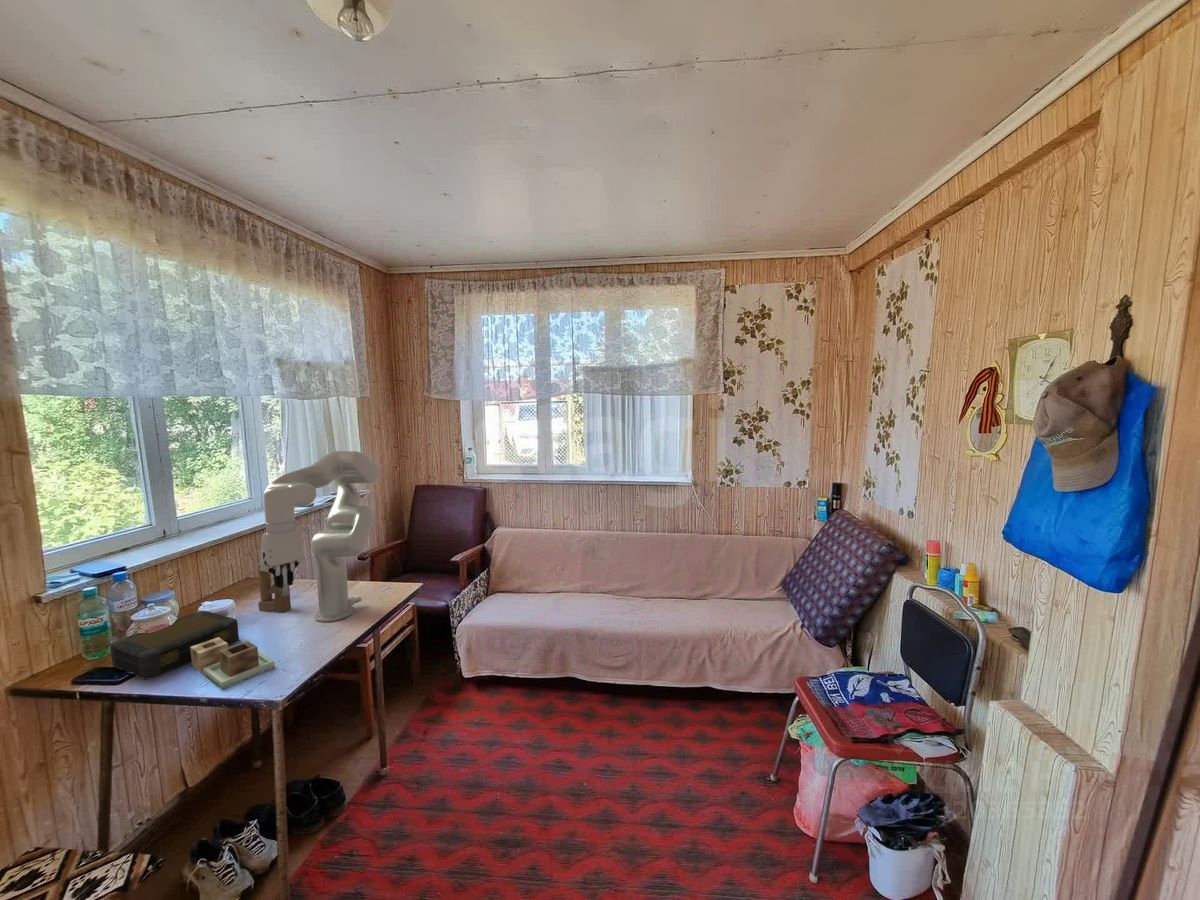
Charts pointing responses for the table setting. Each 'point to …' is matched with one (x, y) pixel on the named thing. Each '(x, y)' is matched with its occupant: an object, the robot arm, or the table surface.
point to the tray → (224, 680)
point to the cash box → (171, 643)
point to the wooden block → (266, 594)
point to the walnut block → (238, 658)
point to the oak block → (207, 653)
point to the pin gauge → (284, 580)
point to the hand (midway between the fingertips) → (284, 585)
